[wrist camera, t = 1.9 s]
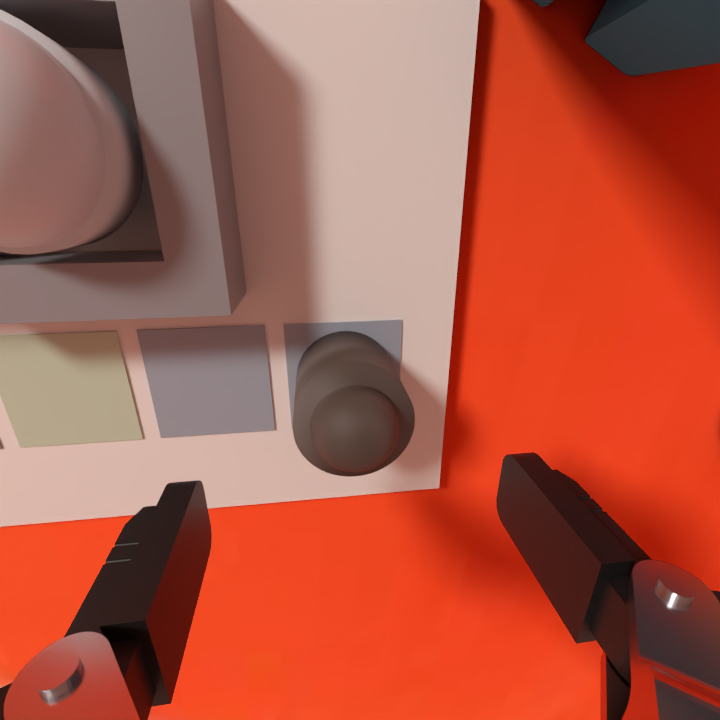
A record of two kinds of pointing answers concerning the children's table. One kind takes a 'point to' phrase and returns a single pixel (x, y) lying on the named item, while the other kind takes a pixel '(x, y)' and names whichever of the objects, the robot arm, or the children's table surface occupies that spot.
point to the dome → (60, 147)
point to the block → (656, 34)
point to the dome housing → (165, 172)
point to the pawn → (350, 406)
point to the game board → (268, 273)
